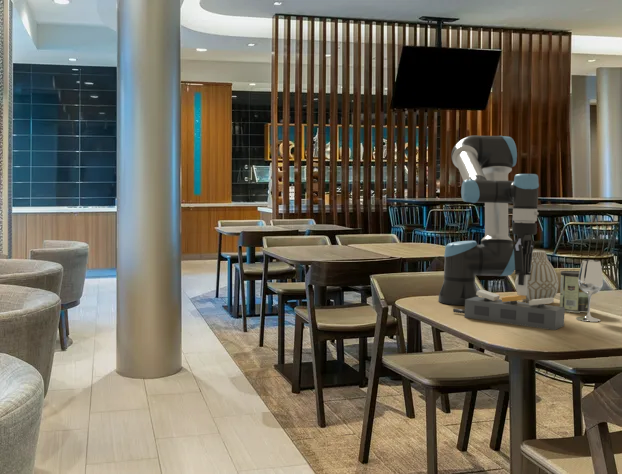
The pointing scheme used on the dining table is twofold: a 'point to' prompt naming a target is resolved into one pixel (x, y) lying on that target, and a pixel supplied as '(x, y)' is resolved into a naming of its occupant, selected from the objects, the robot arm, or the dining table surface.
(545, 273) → the vase
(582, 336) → the dining table surface
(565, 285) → the coffee can
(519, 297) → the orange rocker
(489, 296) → the block
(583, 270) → the wineglass
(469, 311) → the power strip
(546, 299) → the block
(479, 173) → the robot arm
